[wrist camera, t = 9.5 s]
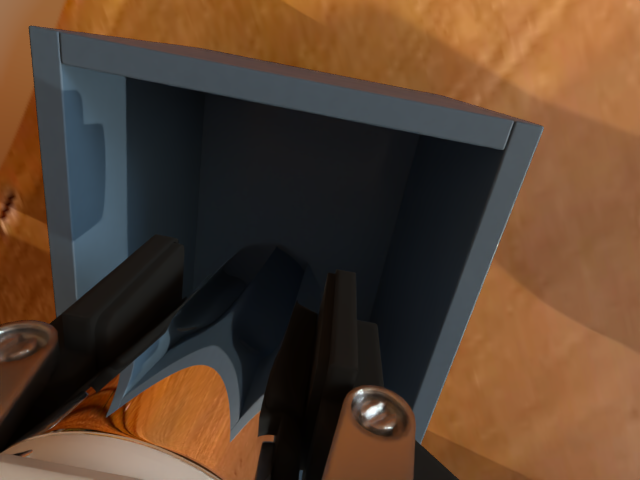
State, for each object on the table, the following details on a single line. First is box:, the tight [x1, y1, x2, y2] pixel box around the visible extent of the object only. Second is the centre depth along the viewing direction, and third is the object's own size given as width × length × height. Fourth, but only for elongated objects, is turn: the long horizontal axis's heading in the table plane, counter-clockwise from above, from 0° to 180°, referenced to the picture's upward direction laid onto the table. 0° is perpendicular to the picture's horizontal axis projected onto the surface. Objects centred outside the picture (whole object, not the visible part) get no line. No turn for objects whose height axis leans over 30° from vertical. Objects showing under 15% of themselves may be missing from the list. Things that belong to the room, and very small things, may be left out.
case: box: [29, 26, 544, 480], centre depth 19 cm, size 16×14×13 cm
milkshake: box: [1, 243, 321, 480], centre depth 8 cm, size 4×5×10 cm
